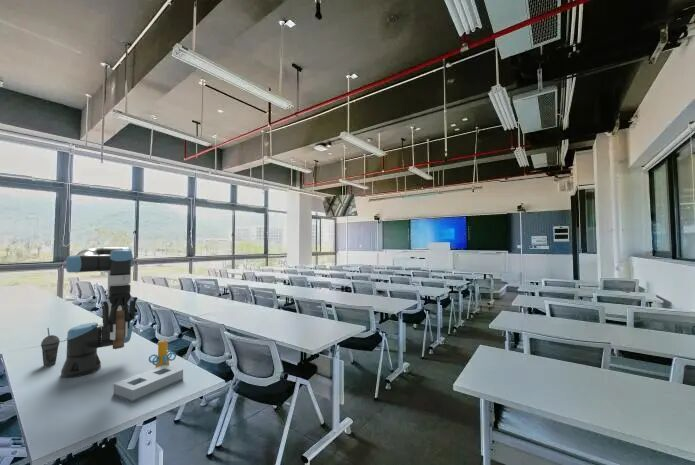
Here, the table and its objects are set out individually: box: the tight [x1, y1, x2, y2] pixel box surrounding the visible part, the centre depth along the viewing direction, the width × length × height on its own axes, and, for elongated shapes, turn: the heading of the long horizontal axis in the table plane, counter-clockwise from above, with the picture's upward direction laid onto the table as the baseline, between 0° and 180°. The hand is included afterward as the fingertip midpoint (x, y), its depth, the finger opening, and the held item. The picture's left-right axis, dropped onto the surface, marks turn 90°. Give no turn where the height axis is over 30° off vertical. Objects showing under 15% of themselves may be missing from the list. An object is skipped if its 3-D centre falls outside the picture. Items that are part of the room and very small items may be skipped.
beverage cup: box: [40, 327, 61, 367], centre depth 160 cm, size 7×7×20 cm
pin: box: [112, 310, 125, 350], centre depth 130 cm, size 4×4×16 cm
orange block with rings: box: [148, 339, 177, 368], centre depth 152 cm, size 12×10×15 cm
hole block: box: [112, 365, 184, 404], centre depth 133 cm, size 14×22×5 cm, turn 155°
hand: (118, 337), depth 130 cm, fingers closed on pin, 4 cm apart
